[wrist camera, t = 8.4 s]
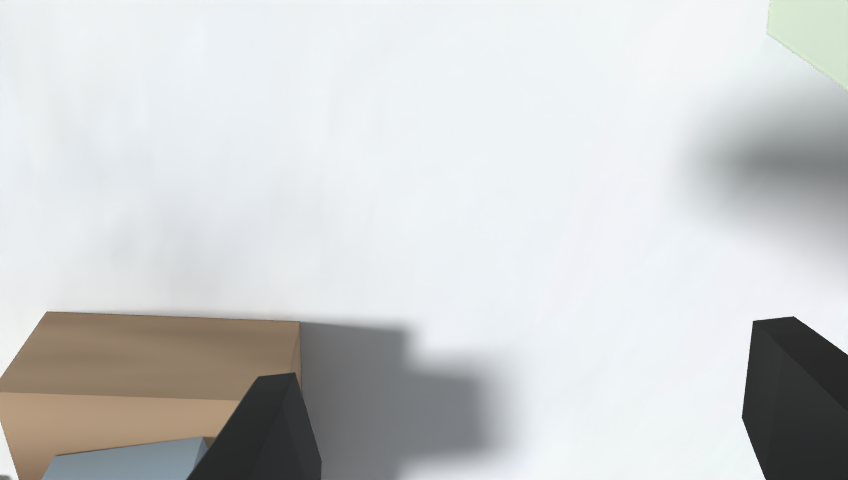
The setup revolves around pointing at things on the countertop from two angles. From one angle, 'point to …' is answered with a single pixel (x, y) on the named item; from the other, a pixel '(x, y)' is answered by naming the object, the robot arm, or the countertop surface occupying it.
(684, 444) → the countertop surface
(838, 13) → the sage block
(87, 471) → the slate block
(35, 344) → the base block
